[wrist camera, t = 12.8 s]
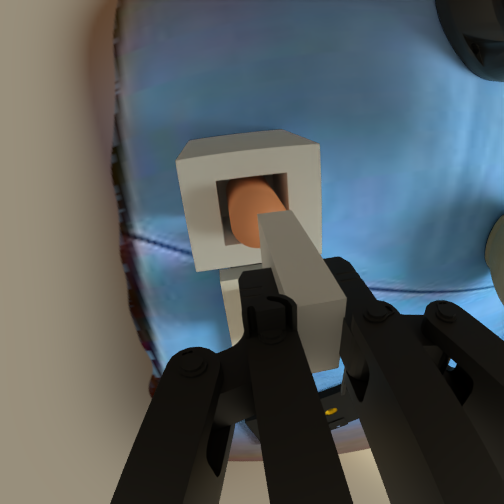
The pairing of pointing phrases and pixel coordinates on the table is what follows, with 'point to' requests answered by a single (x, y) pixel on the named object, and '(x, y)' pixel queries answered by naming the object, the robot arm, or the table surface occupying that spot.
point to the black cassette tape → (325, 409)
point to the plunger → (250, 206)
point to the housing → (237, 166)
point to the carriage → (234, 299)
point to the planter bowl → (496, 257)
